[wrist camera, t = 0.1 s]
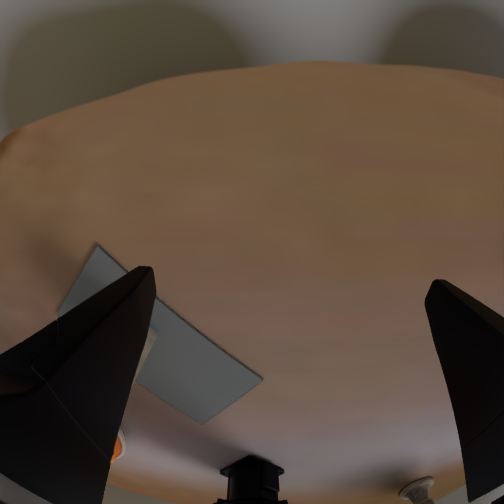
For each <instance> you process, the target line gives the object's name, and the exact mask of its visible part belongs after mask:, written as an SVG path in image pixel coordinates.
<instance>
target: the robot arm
mask: <svg viewBox="0 0 504 504" xmlns="http://www.w3.org/2000/svg"><path fill="white" fill-rule="evenodd" d="M155 298H156V284H155V278H154V272H153V269H152V267H150V266H138V267H136V268H135V269H133V270H131V271H130V272H128V273H127V274H125V275H124V276H122V277H120V278H119V279H117V280H116V281H114V282H112V283H111V284H109V285H108V286H106V287H105V288H103V289H102V290H100V291H98V292H97V293H95V294H94V295H92V296H91V297H89V298H88V299H86V300H85V301H83V302H82V303H80V304H79V305H77V306H76V307H74V308H73V309H71V310H70V311H68V312H67V313H65V314H64V315H62V316H61V317H59V318H58V319H57V320H55V321H53V322H52V323H50V324H49V325H47V326H46V327H44V328H43V329H41V330H40V331H38V332H37V333H35V334H34V335H32V336H31V337H29V338H27V339H26V340H24V341H22V342H21V343H19V344H17V345H16V346H14V347H12V348H11V349H9V350H7V351H5V352H4V353H2V354H0V504H102V500H103V495H104V491H105V486H106V482H107V477H108V473H109V469H110V464H111V462H110V461H111V460H112V456H113V451H114V448H115V444H116V440H117V436H118V432H119V428H120V425H121V421H122V418H123V414H124V410H125V407H126V403H127V400H128V397H129V393H130V390H131V387H132V383H133V380H134V377H135V374H136V370H137V367H138V364H139V361H140V358H141V355H142V352H143V349H144V346H145V342H146V339H147V335H148V331H149V326H150V321H151V316H152V312H153V307H154V303H155ZM425 309H426V312H427V316H428V320H429V324H430V328H431V332H432V337H433V341H434V344H435V348H436V351H437V354H438V357H439V360H440V364H441V367H442V370H443V374H444V377H445V381H446V384H447V388H448V392H449V396H450V399H451V403H452V408H453V412H454V416H455V421H456V425H457V430H458V435H459V440H460V445H461V452H462V458H463V464H464V471H465V479H466V486H467V496H468V502H469V503H470V502H473V501H475V500H477V499H479V498H481V497H483V496H484V495H486V494H488V493H490V492H492V491H493V490H495V489H497V488H499V487H501V486H502V485H504V317H502V316H501V315H499V314H498V313H496V312H495V311H493V310H492V309H490V308H489V307H487V306H486V305H484V304H483V303H481V302H480V301H478V300H476V299H475V298H473V297H472V296H470V295H469V294H467V293H465V292H464V291H462V290H461V289H459V288H458V287H456V286H454V285H453V284H451V283H449V282H448V281H446V280H443V279H435V280H434V281H433V282H432V284H431V286H430V289H429V291H428V293H427V296H426V298H425ZM220 474H221V475H223V476H225V477H228V489H227V500H224V499H219V498H218V500H217V502H216V503H213V504H288V502H287V500H283V501H278V492H279V476H280V475H282V474H284V469H281V468H279V467H277V466H274V465H272V464H270V463H268V462H265V461H263V460H261V459H259V458H257V457H255V456H251V455H250V456H247V457H245V458H243V459H241V460H240V461H238V462H236V463H234V464H232V465H230V466H228V467H226V468H224V469H222V470H220ZM491 504H504V495H503V496H501V497H500V498H498V499H496V500H495V501H493V502H492V503H491Z"/></svg>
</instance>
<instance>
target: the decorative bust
mask: <svg viewBox="0 0 504 504" xmlns="http://www.w3.org/2000/svg"><path fill="white" fill-rule="evenodd" d="M433 483H434V479H433V478H431V477H426V478H423V479H420V480H417V481H415V482H413V483H411V484H410V485H408V486H406V487H405V488H404V489H403V490H402V491H401V492H400V494H399V497H400V498H402V499H405V500H406V499H410V500H411V501H412V502H413V504H434V502H433V499H432V498H428V493H427V492H428V490H429V489H430V488H431V487H432V485H433Z"/></svg>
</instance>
